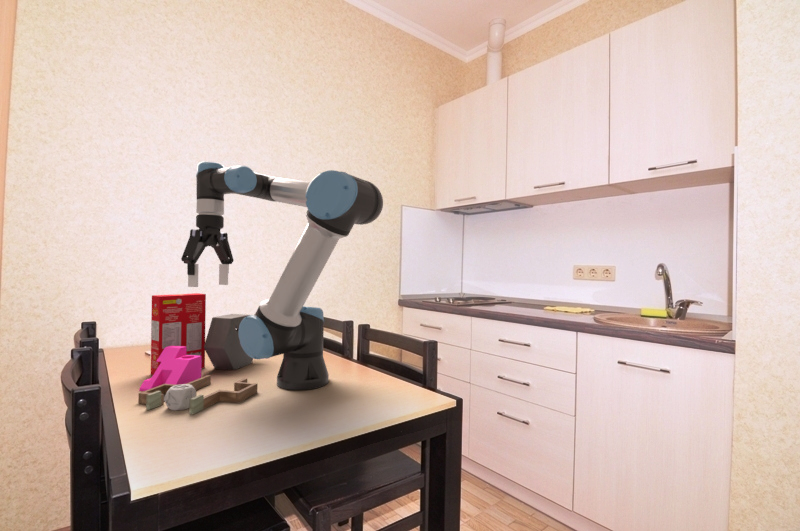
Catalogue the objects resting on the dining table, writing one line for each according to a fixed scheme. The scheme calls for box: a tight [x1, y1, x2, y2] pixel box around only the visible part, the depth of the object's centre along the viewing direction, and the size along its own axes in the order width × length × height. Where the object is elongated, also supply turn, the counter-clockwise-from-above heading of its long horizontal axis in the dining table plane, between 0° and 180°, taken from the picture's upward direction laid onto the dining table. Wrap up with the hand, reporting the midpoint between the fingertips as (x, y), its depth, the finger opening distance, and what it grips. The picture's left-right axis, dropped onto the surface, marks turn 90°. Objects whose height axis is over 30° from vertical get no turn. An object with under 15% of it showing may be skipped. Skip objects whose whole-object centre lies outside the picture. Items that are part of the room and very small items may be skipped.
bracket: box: [138, 346, 202, 392], centre depth 117 cm, size 12×10×10 cm
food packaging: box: [150, 292, 207, 376], centre depth 133 cm, size 15×5×25 cm, turn 145°
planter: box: [204, 313, 254, 371], centre depth 140 cm, size 17×8×21 cm
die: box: [164, 384, 197, 411], centre depth 100 cm, size 5×5×5 cm
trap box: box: [137, 374, 258, 415], centre depth 107 cm, size 24×22×4 cm
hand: (209, 285), depth 121 cm, fingers open, 13 cm apart
